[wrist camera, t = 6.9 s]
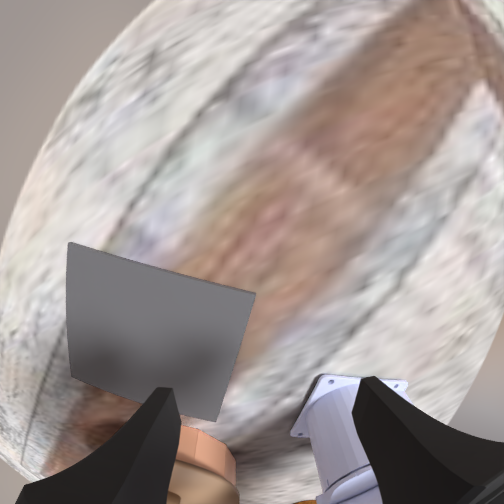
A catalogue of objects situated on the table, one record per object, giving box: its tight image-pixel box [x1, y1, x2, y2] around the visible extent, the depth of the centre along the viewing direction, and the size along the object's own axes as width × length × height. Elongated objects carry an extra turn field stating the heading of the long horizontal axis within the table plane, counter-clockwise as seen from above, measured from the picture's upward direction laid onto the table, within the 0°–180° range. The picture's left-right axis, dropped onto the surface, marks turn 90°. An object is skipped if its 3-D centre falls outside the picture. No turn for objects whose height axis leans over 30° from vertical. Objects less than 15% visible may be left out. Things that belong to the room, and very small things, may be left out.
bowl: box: [176, 425, 236, 487], centre depth 21 cm, size 13×13×5 cm
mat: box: [66, 242, 256, 422], centre depth 20 cm, size 14×13×1 cm
